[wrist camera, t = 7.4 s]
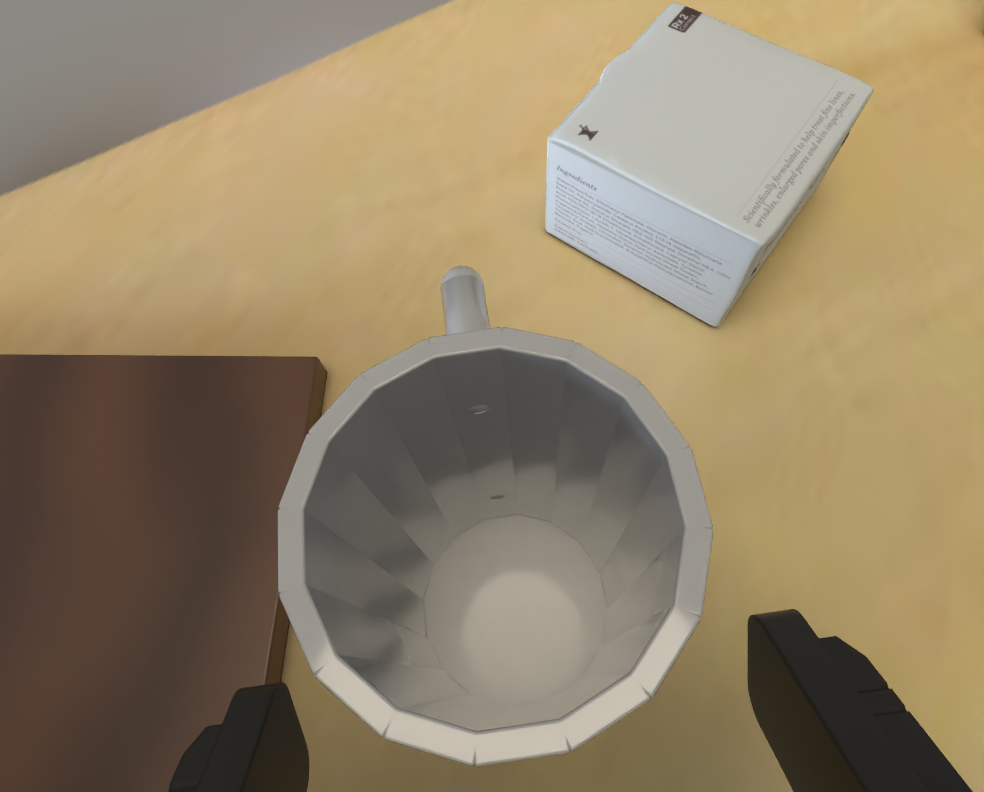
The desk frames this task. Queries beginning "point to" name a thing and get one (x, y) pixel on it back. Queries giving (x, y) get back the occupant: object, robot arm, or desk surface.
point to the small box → (696, 157)
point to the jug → (493, 542)
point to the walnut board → (138, 555)
